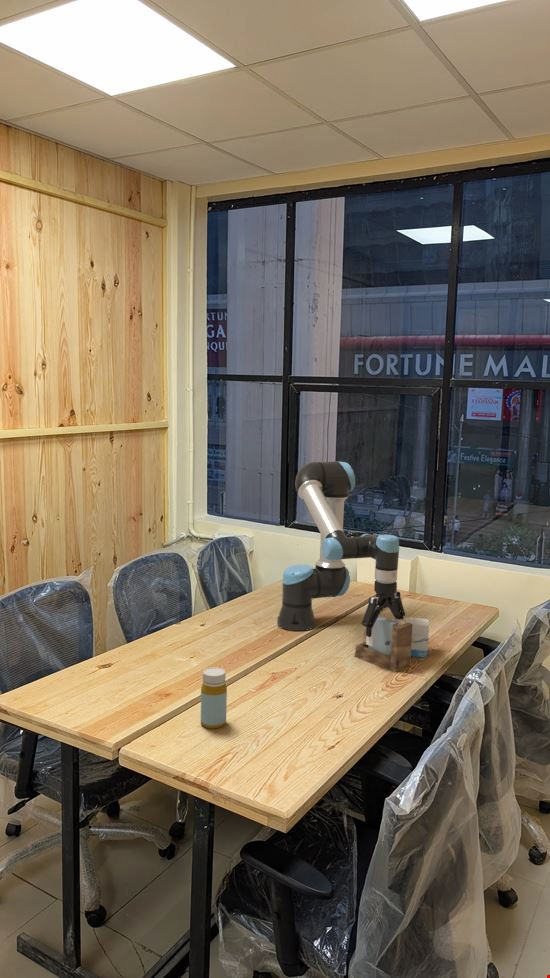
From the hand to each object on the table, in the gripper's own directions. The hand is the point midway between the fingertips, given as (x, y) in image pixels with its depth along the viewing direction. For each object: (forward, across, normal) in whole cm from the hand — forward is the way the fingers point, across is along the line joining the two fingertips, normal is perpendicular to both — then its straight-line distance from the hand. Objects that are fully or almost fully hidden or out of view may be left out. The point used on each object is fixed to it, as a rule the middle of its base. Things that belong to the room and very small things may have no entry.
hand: (382, 641), depth 243 cm
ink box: (+8, +16, -2) cm, 18 cm away
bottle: (+8, -73, -1) cm, 73 cm away
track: (+7, 0, 0) cm, 7 cm away
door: (+6, 0, 0) cm, 6 cm away
